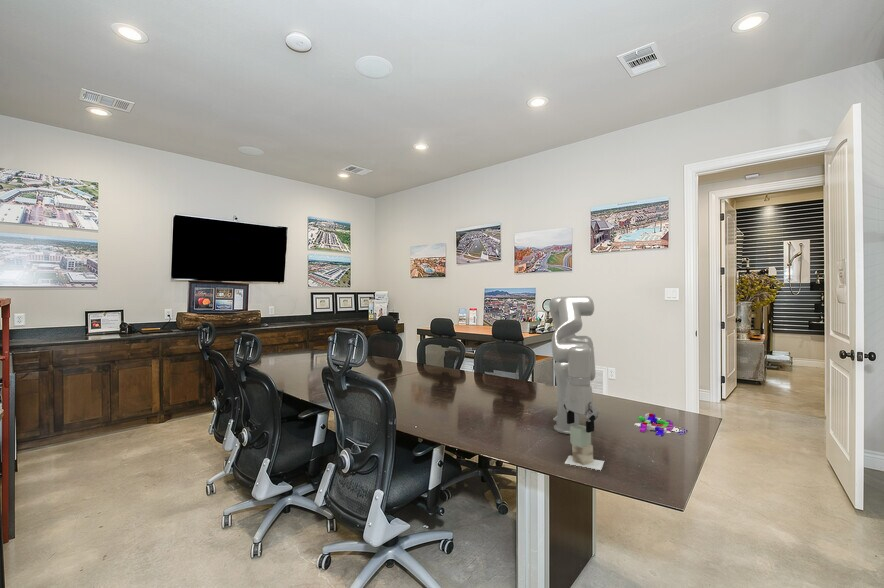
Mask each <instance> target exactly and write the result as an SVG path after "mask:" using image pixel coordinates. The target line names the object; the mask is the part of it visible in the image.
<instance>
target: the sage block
mask: <svg viewBox="0 0 884 588" xmlns="http://www.w3.org/2000/svg"><path fill="white" fill-rule="evenodd" d="M591 434H592V432H589V433H587V432H586V425H582V424H580V425H576V426H571V427H570V434H569V437H570V439H569V441H570V444H571V445H572V444H574V445H576V446H578V447H580V448H581V447H586V446H590V445H592V438H591V437H592V435H591Z"/></svg>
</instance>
